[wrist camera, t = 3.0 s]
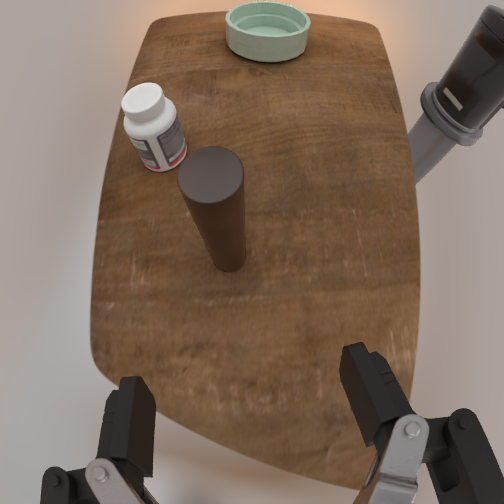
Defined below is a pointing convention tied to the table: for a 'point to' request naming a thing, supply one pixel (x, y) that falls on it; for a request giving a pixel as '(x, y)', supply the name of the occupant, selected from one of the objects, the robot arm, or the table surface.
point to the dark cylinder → (216, 202)
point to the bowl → (267, 31)
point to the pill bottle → (153, 127)
